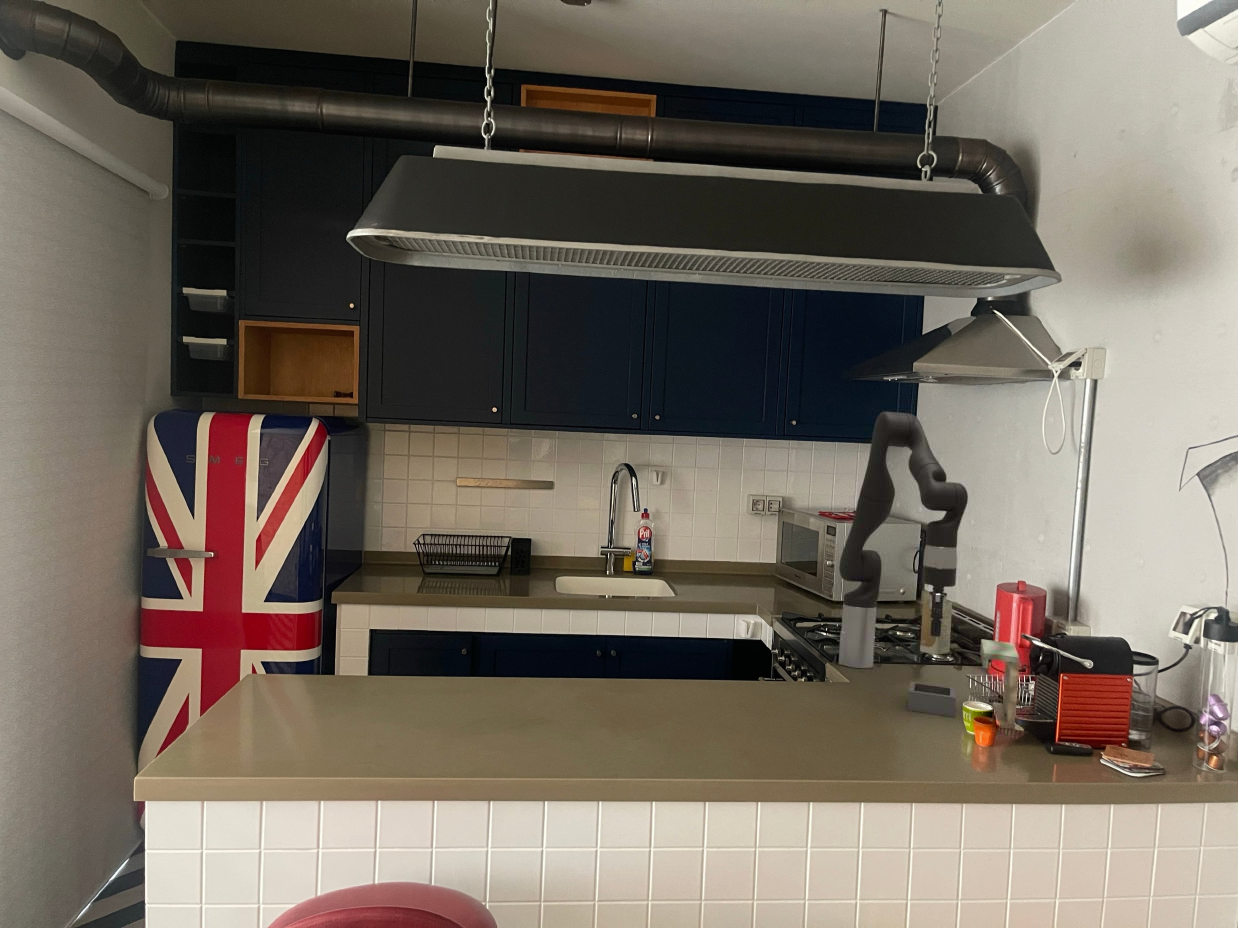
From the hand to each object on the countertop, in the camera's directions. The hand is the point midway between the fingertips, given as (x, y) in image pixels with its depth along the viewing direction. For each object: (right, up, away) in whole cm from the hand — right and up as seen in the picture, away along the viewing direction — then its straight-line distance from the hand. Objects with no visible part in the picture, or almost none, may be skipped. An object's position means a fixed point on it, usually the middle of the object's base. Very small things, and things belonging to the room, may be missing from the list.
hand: (935, 633), depth 207 cm
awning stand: (+13, -19, -4) cm, 24 cm away
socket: (-1, -18, 0) cm, 18 cm away
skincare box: (0, -5, 0) cm, 5 cm away
